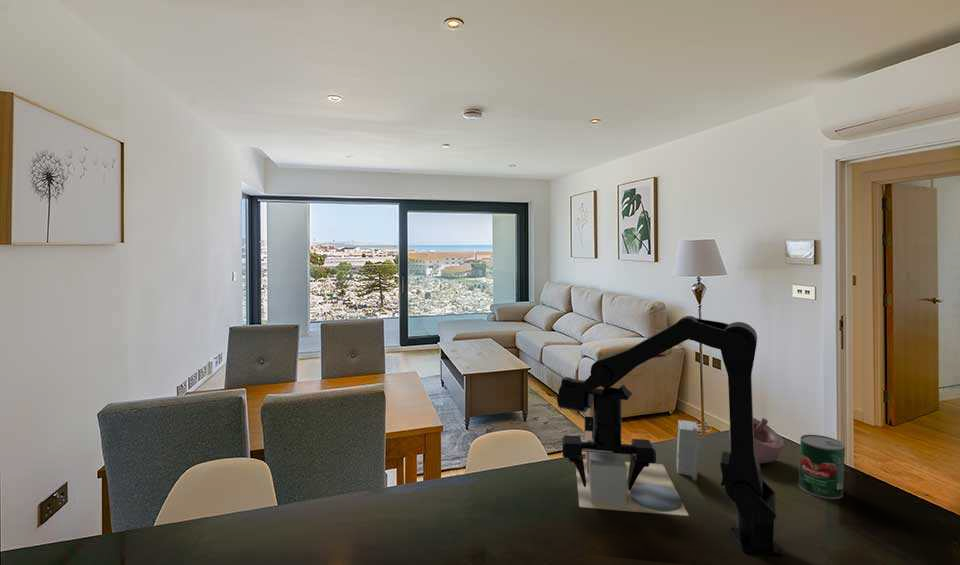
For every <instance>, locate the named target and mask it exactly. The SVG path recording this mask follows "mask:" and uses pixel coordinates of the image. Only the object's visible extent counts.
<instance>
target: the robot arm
mask: <svg viewBox="0 0 960 565" xmlns="http://www.w3.org/2000/svg"><path fill="white" fill-rule="evenodd" d="M688 340H689V341H694V342H695V343H699V344H702V345H704V346H707V347H710V348H713V349H715V350H716V349H717V350H720V352H721V358H722V361H723V364H724V367H725V370H726V373H727V380H728V382H727V383H728V385H727V386H728V403H729V404H728V405H729V406H728V408H729V409H728V410H729V411H728V412H729V429H730V436H731V442H730V452H726V451H722V454H721V457H720V458H721V459H720V464H719V466H720V471H721V474H722V476H721V477H722V478H721V481H720V486H721V487H724V491H725V493H726V495H727V497H728V499H729V498H730V500H731V501H732V502H734V503H735V506H736V508H737V527H730V528H729V530H730V533H731V535H732V536H733V537H734V540H736V542H737V544H738V546H739V547H740V549H741V550H742V551H743V552H746V553H756V554H766V555H777V556H782V555H784V552H783V550H782V548H781V547H780V546H779V545H778V543H777V542H776V541H775V531H776V530H775V529H776V518H777V502H776V501H777V500H776V492H775V491H774V490H773V489H772V487H771V486H769V485H768V483H766V482H765V480H763V479H764V478H763V474H762V473H763V472H762V471H761V464H760V463H759V461H758V458H757V455H756V452H755V448H754V429H753V418H754V407H753V384H752V382H753V381H752V379H753V378H752V373H753V368H754V362H755V357H756V349H757V345H758V344H757V343H758V335H757V331H756V330H755V329H754V327H752V326H751V325H750V324H748V323H745V322H742V321H736V322H735V321H734V322H732V323H726V322H721V321H716V320H715V321H714V320H710V319H708V320H707V319H703V318H699V317H698V318H697V317H695V316H691V315H686V316H683V317H681V318H680V319H679V320H678V321H676V322H675V323H673V324H671V325H670V326H667V327H665V328H664V329H662V330H661V331H658V332H657V333H655V334H653V335H652V336H650V337H647V338H646V339H644V340H642V341H641V342H639V343H637V344H635V345H633V346H631V347H628V348H626V349H623V350H618V351H615V352H613V353H610V354H606V355H605V356H602V357H601V358H599V359H598V360H596V361H595V362H593V363H592V365H591V366H590V372H589V373H590V375H589V376H588V378H586V379H584V380H582V379H575V378H571V377H568V376H565V377H564V378H562V379H561V384H560V386H559V389H558V394H557V396H556V401H557V405H558V407H559V408H560V409H564V410H570V411H573V412H580V413H586V412H587V411H588V410H590V409H592V407H593V414H592V415H593V416H584V432H585V431H592V439H593V442H585V441H582V438H581V435H567V434H564V436H563V437H562V438H561V439H562V440H561V443H562V444H561V445H562V458H564V459H565V458H566V459H568V461H569V462H570V463H573V464H574V465H575V468H576V467H577V469H578V471H579V474H580V477H581V479H582V482H583V485H584V487H586V477H585V470H584V463H583V459H584V456H583V452H601V453H617V454H622V455H629V462H630V467H629V476H628V489H629V490H631V489H632V487H633V485H634V483H635V481H636V479H637V477H638V475H639V474H640V472H641V471H642V469H643V468H644V467H648V466H649V463H652V464H657V463H656V462H657V454H656V449H655V447H654V445H653V443H652V442H651V441H650V440H649V439H641V438H640V439H639V438H632V439H631V444H629V443H628V444H627V443H626V444H625V443H622V419H623V418H622V416H623V415H622V414H623V412H622V409H623V408H622V404H623V402H622V401H623V400H624V401H628V400H629V399H630V398H631V397H632V396H633V392H632V391H630V390H629V389H628V388H627V387H626V385H625V384H622V385H621V386H619V387H614V385H615V384H617V383H618V382H619V381H620V380H622V379H623V378H625V377H626V376H627V375H628V374H629V373H630V372H632V371H633V370H634V369H635V368H637V367H638V366H640V365H641V364H644V363H646V362H647V361H649V360H651V359H653V358H655V357H657V356H659V355H661V354H663V353H664V352H666V351H669V350H670V349H672V348H674V347H676V346H678V345H680V344H681V343H684V342H686V341H688ZM600 387H602V388H600Z"/></svg>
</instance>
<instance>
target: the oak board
mask: <svg viewBox="0 0 960 565" xmlns="http://www.w3.org/2000/svg"><path fill="white" fill-rule="evenodd" d="M583 463H584V470H585V477H586V487H584V485H583V482H582V479H581V477H580V474H579V471H578V469H577V467H576V466H575V472H576V484H577V497H578V498H577V499H578V505H579V506H578V507H579V508H584V509H585V508H586V509H599V510H611V511H622V512H623V511H624V512H633V513H634V512H635V513H646V514H647V513H648V514H659V515H670V516H672V515H673V516H681V517H682V516H683V517H685V516H686V517H690V515H689V513H688V511H687V510H686V507H685V505H684V504H683V500H682V498H681V497H680V495H679V493H678V492H677V489H676V488H675V485H674V483H673V481H672V480H671V478H670V475H669V473H668V471H667V470H666V468H665V465H664V464H662V463H649V466H648V467H644V468H643V469H642V471H641V472H640V474H639V475H638V477H637V479H636V481H635V483H634V485H633V487H632V489H631V490H629V489H628V476H629V467H630V461H625V464H626V467H627V488H626V505H616V504H603V503H591V498H590V490H589V474H587V469H586V462H585V458H583Z"/></svg>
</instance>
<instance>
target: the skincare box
mask: <svg viewBox="0 0 960 565" xmlns="http://www.w3.org/2000/svg"><path fill="white" fill-rule="evenodd" d="M699 441H700V431H699V425H698V423H697V421H691V420H679V419H678V420H677V442H676V444H677V445H676V460H675V461H676V462H675V464H676V465H675V466H676V472H677V474H679V475H684V476H685V475H686V476H690V478H691V479H692V480H693V481H695V482H696V481H697V479H698V463H699V462H698V461H699V460H698V459H699V444H700V442H699Z"/></svg>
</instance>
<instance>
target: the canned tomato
mask: <svg viewBox="0 0 960 565" xmlns="http://www.w3.org/2000/svg"><path fill="white" fill-rule="evenodd" d="M799 439H800V441H799V442H800V443H799V464H798V465H799V466H798V467H799V470H798V485H797V486H798V487H799V488H800V489H801V490H802V491H804V492H805V493H807V494H808V495H812V496H815V497H817V498H821V499H828V500H838V499H842V498H843V497H844V476H845V475H844V474H845V457H846V456H845V455H846V445H845V444H844V443H843V442H842V441H841V440H839V439H836V438H833V437H829V436H824V435H820V434H804V435H803V434H802V435H801V436H800V437H799Z"/></svg>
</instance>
